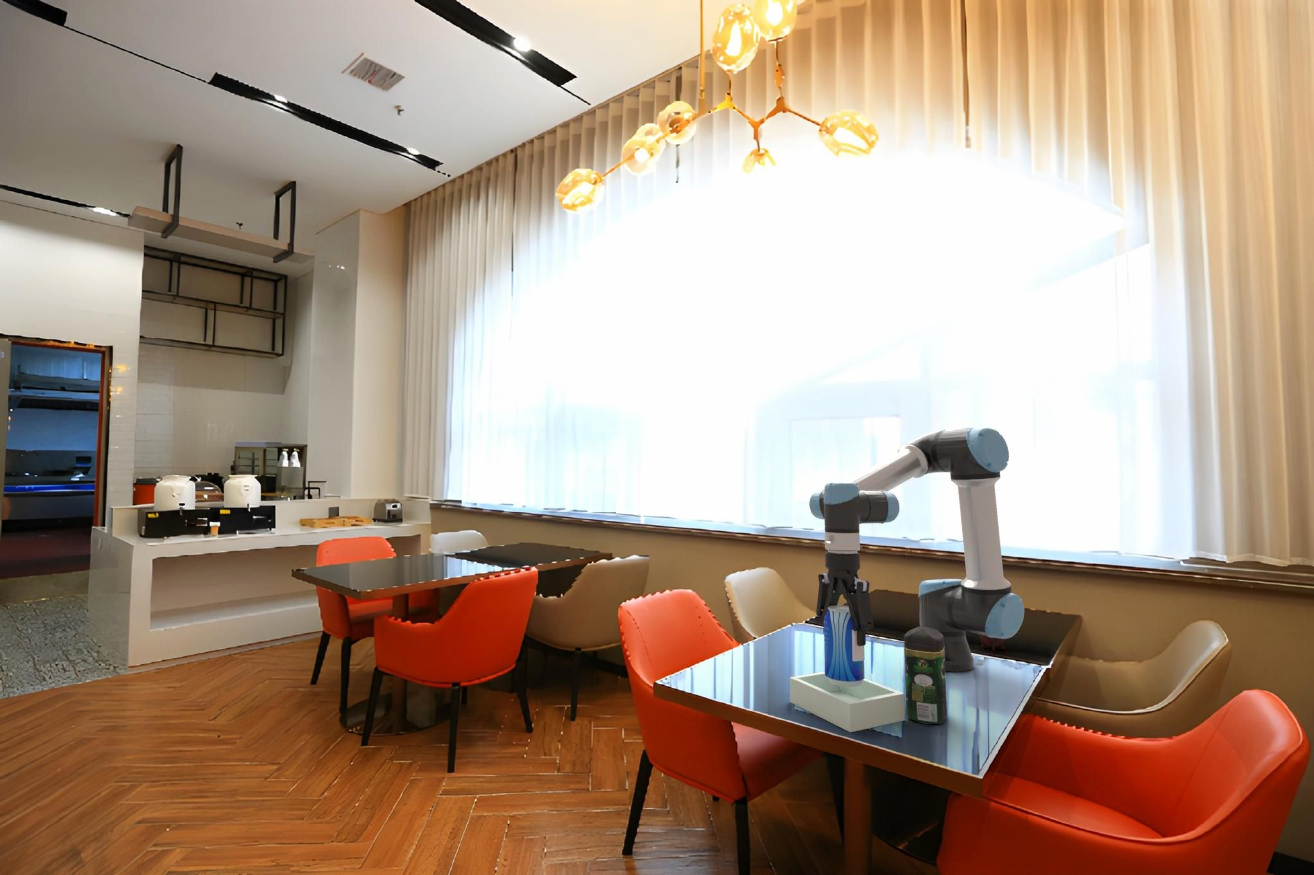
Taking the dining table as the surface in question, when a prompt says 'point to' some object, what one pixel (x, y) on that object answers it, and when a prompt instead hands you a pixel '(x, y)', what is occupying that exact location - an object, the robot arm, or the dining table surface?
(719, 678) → the dining table surface
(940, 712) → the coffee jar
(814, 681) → the tote
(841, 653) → the beer can
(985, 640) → the mate gourd
